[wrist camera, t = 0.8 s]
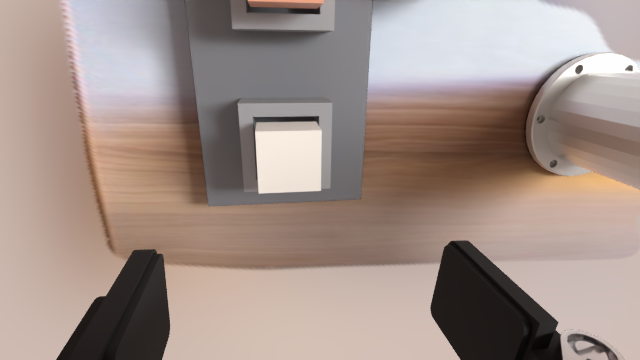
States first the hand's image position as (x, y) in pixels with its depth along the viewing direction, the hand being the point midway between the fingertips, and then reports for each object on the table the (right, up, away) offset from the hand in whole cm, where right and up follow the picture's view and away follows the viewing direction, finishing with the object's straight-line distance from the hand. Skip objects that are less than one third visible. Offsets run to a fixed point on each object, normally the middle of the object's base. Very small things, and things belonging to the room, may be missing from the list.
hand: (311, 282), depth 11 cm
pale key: (-2, +6, +15) cm, 16 cm away
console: (-3, +14, +19) cm, 23 cm away
